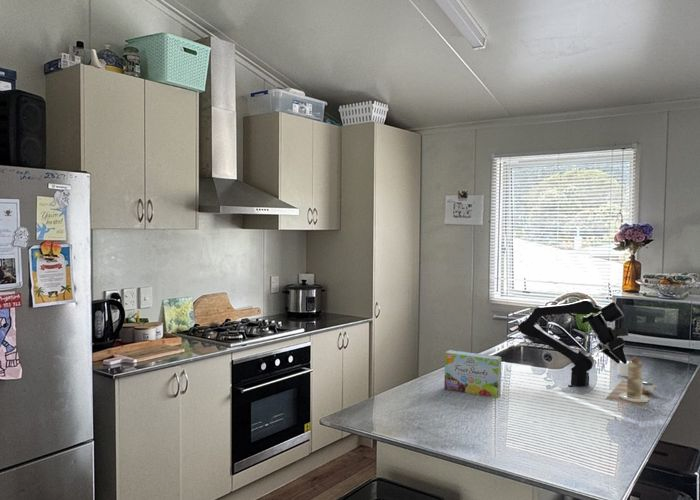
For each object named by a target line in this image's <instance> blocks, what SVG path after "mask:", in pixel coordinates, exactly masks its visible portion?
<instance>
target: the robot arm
mask: <svg viewBox="0 0 700 500" xmlns="http://www.w3.org/2000/svg"><path fill="white" fill-rule="evenodd" d="M564 314H565V315H566V314H567V315H568V314H574V315H581V316H582V315H584V316H582V321H581V324H585V323H587V324H588V325H589V327H590V328H591V330H592V332H593V336H595V337H597V339H598V341H599V342H598V343H596V348H597V349H598V351H600V352H601V353H602V354H604V355H605V356H607V357H608V358H609V359H611V360H612V361H613V362H615V363H616V364H617V363H620V361H621V362H622V363H624V364H626V363H627V361H628V360H627V358H626V355H625V352H624V346H625V345H626V342H625V339H624V338H623V337H626V336H628V337H629V330H628V328H627V327H620V326H614V327H613V329H612V327H611V326H608V325H607V323H608V322H609V323H611V324H612V323H613V322H615V321H617V320H619V319H621V318H623V317H625V314H624V312H623V311H622V309H621V308H620V307H619V306H618V304H617V303H616V301H611V302H610V303H609V304H607V305H605V306H601V305H598V304H597V303H596V304H595V303H594V301H593V300H592V299H590V298H589V299H588V298H585V299H582V300H578V301H575V302H571V303H565V304H554V305H546V306H543V305H539V306H537V307H535V308H534V310H533V311H532V313H531V314H530V315H529V316H528V318H527V319H525V320H523V321H522V322H521V323H520V324H519V326H518V327H519V328H518V329H519V332H520V333H521V334H522V335H525V336H527V337H529V338H533V339H536V340H538V341H540V342H542V343H544V344H545V345H546V346H548V347H550V348H551V349H553V350H554V351H556V352H557V353H560V354H561V355H562V356H564V357H566V358H567V359H569V360H570V362H571V363H573V365H572V367H571V368H570V371H571V372H570V377H571V378H570V384H567V386H568V387H569V388H574V387H579V388H587V386H589V385H590V376H589V374H590V373H589V371H590V370H591V369H592V368H593V366H594V364H595V360H594V357H593V356H592V355H591V353H590V352H587V351H586V350H585V349H584V348H580V349H579V350H577V349H574V348H573V347H571V346H569V345H567V344H566V343H565V342H563V341H561V340H559V339H558V338H556V337H554V336H553V335H551V334H550V333H548V332H546V331H545V330H544V329H543V328H542V327H541V325H539V324H538V323H539V321H540V320H541V318H543V316H544V317H546V316H554V315H555V316H556V315H564ZM606 322H607V323H606Z"/></svg>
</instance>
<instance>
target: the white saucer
mask: <svg viewBox="0 0 700 500" xmlns="http://www.w3.org/2000/svg"><path fill="white" fill-rule="evenodd" d="M619 397H620V398H621V399H623V400H626V401H631V402H639V403H644V402H646V403H649V399H650V397H649V398H647V397H646V396H643V395H641V398H640V399H633V398H629V397H627V396H626V393H622V394H619Z"/></svg>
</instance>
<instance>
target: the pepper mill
mask: <svg viewBox="0 0 700 500" xmlns="http://www.w3.org/2000/svg"><path fill="white" fill-rule="evenodd" d="M628 361H629V362H628V377H627V381H628V382H627V393H626V396H627V397H629V398H633V399H640V398H641V383H642V373H643V363H642V362H641V361H640V359H639V357H638V356H632V358H631V360H628Z"/></svg>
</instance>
